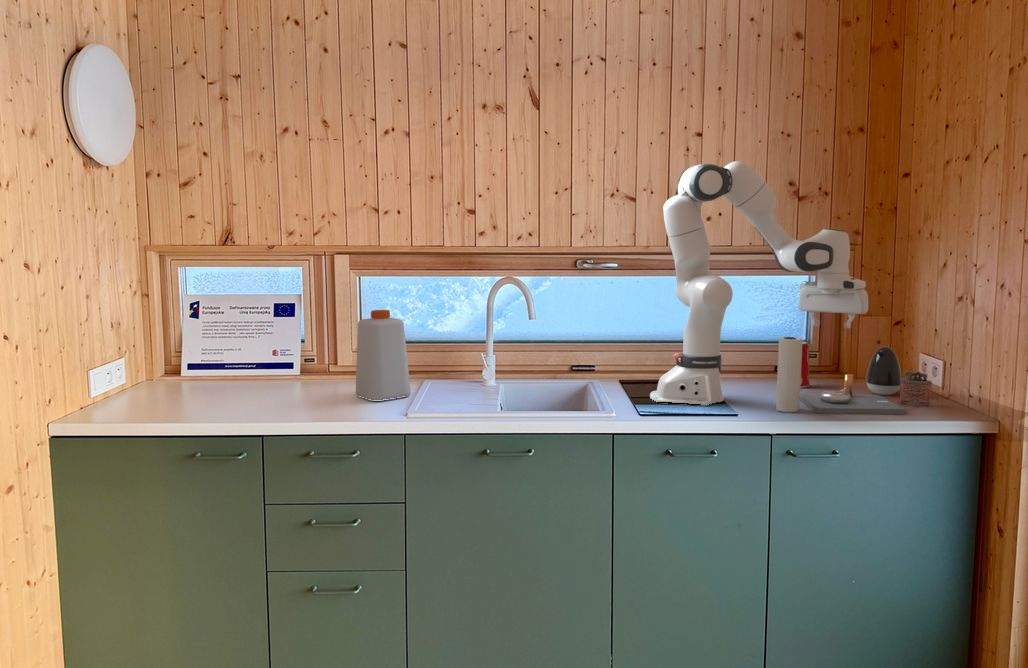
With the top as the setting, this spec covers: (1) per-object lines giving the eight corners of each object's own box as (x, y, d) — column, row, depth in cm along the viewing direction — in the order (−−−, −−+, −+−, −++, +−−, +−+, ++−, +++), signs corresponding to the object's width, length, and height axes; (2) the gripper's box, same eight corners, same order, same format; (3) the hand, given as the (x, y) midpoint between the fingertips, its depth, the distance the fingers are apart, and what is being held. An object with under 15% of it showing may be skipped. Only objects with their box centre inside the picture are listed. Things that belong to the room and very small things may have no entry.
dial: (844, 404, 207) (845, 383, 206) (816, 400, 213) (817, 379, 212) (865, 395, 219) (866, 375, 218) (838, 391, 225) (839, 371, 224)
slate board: (817, 413, 205) (817, 407, 205) (797, 399, 223) (798, 394, 222) (904, 414, 203) (905, 408, 203) (878, 399, 221) (878, 394, 220)
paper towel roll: (778, 412, 206) (781, 339, 203) (773, 407, 212) (776, 336, 209) (804, 413, 205) (808, 339, 202) (799, 408, 211) (802, 336, 208)
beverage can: (810, 388, 237) (812, 343, 235) (790, 388, 239) (792, 343, 237) (807, 384, 243) (809, 341, 241) (787, 384, 244) (788, 340, 242)
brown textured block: (930, 404, 214) (932, 371, 212) (929, 407, 211) (932, 373, 209) (899, 402, 218) (901, 369, 216) (898, 404, 215) (900, 371, 213)
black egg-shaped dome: (859, 393, 230) (861, 346, 227) (872, 388, 236) (875, 343, 234) (892, 398, 222) (895, 350, 220) (905, 393, 229) (909, 346, 227)
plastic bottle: (373, 404, 222) (370, 314, 218) (351, 395, 234) (347, 310, 230) (415, 396, 232) (413, 310, 228) (392, 389, 243) (389, 307, 239)
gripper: (795, 281, 225) (794, 325, 226) (863, 283, 210) (861, 330, 212) (803, 280, 229) (802, 323, 231) (871, 282, 214) (869, 328, 216)
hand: (831, 327), depth 221 cm, fingers open, 8 cm apart
